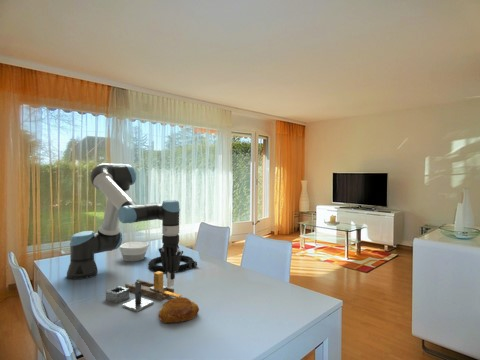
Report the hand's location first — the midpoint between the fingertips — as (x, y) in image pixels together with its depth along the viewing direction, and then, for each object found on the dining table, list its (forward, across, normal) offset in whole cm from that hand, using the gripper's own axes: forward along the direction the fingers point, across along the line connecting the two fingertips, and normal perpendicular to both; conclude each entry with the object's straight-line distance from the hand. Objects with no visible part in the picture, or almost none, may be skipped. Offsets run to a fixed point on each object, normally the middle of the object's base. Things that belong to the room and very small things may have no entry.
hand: (170, 285), depth 134 cm
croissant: (+6, +14, -11) cm, 19 cm away
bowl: (+6, -62, +34) cm, 71 cm away
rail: (+5, -14, 0) cm, 15 cm away
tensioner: (+4, -2, 0) cm, 5 cm away
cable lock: (+6, -30, +36) cm, 47 cm away
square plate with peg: (+5, -6, -13) cm, 16 cm away
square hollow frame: (+5, -19, -13) cm, 24 cm away
